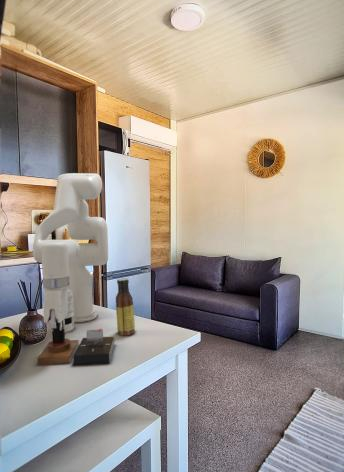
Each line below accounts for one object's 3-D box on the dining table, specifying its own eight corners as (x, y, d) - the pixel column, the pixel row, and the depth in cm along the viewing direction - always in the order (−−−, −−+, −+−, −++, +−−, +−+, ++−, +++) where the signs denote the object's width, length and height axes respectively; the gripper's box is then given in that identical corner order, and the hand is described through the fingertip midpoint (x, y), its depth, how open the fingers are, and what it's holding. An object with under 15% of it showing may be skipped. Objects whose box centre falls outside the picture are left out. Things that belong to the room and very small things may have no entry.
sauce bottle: (136, 330, 114) (135, 277, 113) (132, 336, 108) (131, 280, 106) (119, 329, 115) (117, 277, 113) (114, 336, 109) (112, 280, 107)
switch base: (83, 346, 100) (82, 337, 100) (114, 345, 101) (114, 335, 100) (73, 365, 87) (73, 355, 87) (109, 363, 88) (109, 353, 87)
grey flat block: (87, 346, 93) (86, 331, 92) (88, 344, 94) (87, 329, 94) (102, 345, 93) (101, 330, 93) (103, 343, 94) (102, 328, 94)
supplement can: (52, 335, 110) (50, 294, 109) (49, 328, 117) (48, 290, 116) (75, 331, 114) (74, 291, 113) (72, 325, 121) (70, 287, 120)
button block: (50, 347, 99) (50, 335, 99) (78, 346, 100) (78, 334, 100) (37, 365, 88) (36, 351, 87) (69, 363, 88) (69, 350, 88)
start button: (55, 345, 95) (54, 340, 95) (66, 344, 96) (66, 339, 96) (51, 350, 92) (51, 344, 92) (63, 349, 92) (63, 344, 92)
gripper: (51, 278, 99) (53, 333, 100) (34, 288, 84) (37, 353, 86) (75, 277, 100) (77, 332, 101) (62, 287, 85) (64, 352, 86)
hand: (58, 342), depth 93 cm, fingers closed
